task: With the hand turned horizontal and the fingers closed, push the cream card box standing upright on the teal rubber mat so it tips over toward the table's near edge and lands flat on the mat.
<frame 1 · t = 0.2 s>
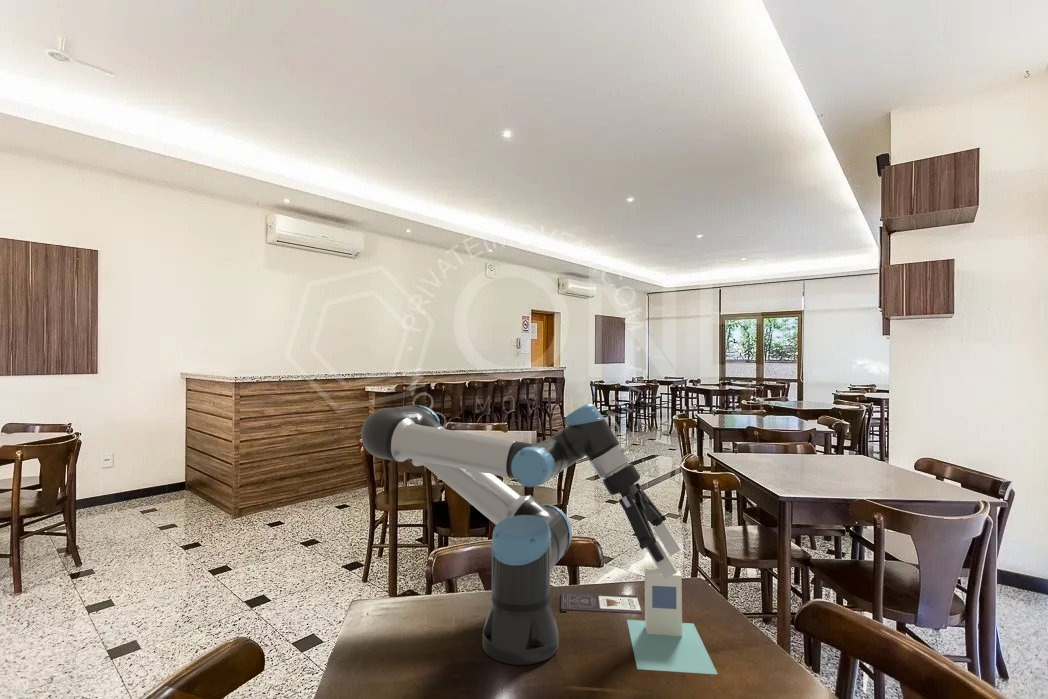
hand: (673, 563, 100), 15 cm above the table, tool tilted 35°, fingers open, 13 cm apart
chocolate bar: (599, 607, 114), on the table
mat: (667, 646, 97), on the table
card box: (663, 631, 102), resting on mat
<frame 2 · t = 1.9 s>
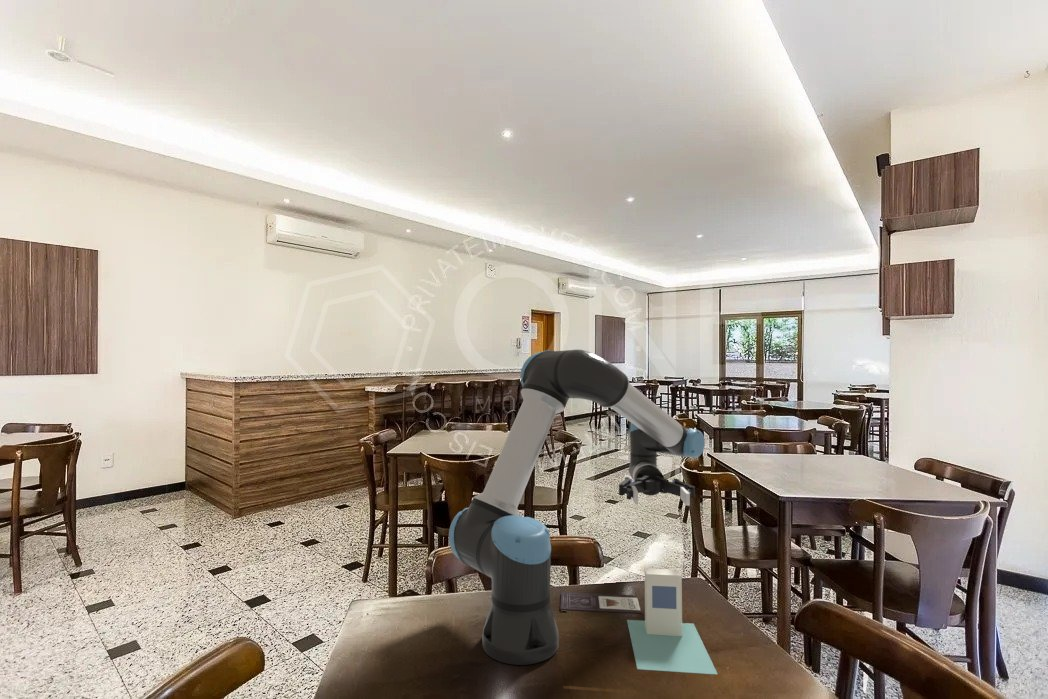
hand: (662, 498, 112), 25 cm above the table, tool horizontal, fingers open, 11 cm apart
nothing on the table moved.
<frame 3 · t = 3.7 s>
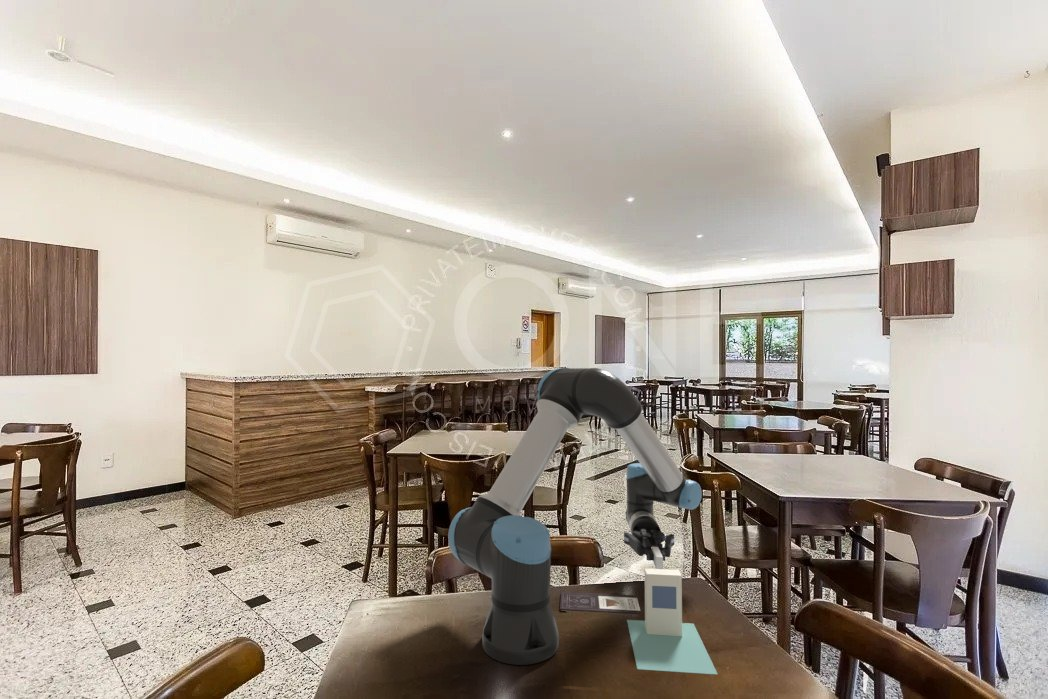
hand: (659, 563, 110), 11 cm above the table, tool horizontal, fingers closed
nothing on the table moved.
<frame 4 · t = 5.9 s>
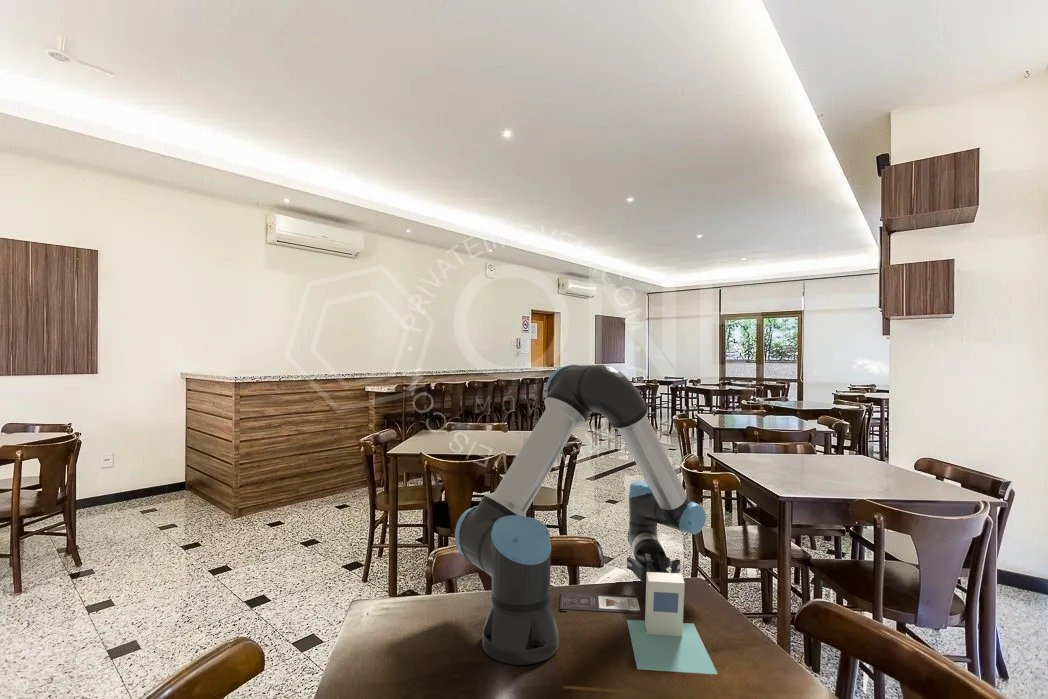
hand: (666, 593, 103), 8 cm above the table, tool horizontal, fingers closed
card box: (663, 629, 102), point 1 cm above the table, tilted 14°, touching mat
everything else where it was.
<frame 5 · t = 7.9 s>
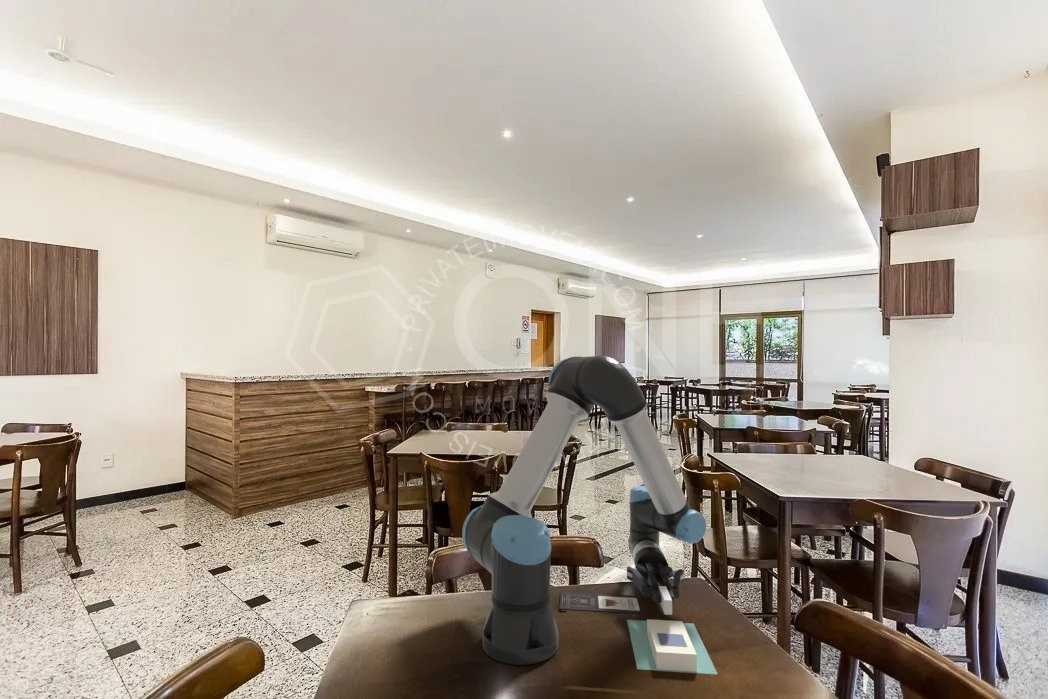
hand: (668, 607, 96), 8 cm above the table, tool horizontal, fingers closed
card box: (664, 627, 100), point 2 cm above the table, tilted 90°, touching mat
everything else where it was.
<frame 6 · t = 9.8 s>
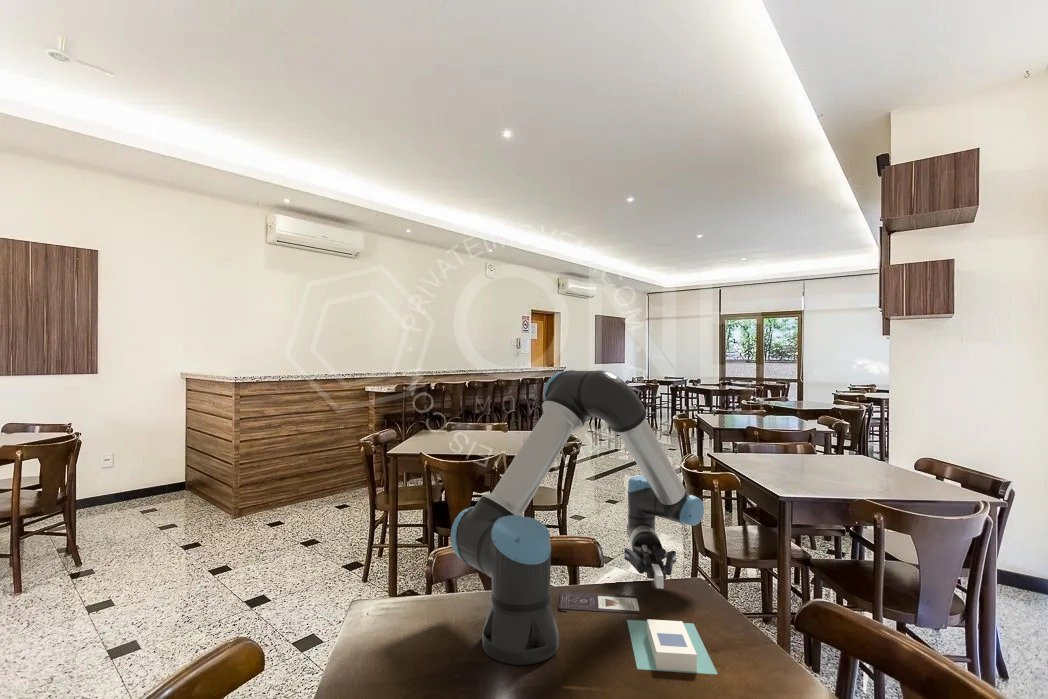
hand: (660, 582, 107), 8 cm above the table, tool horizontal, fingers closed
nothing on the table moved.
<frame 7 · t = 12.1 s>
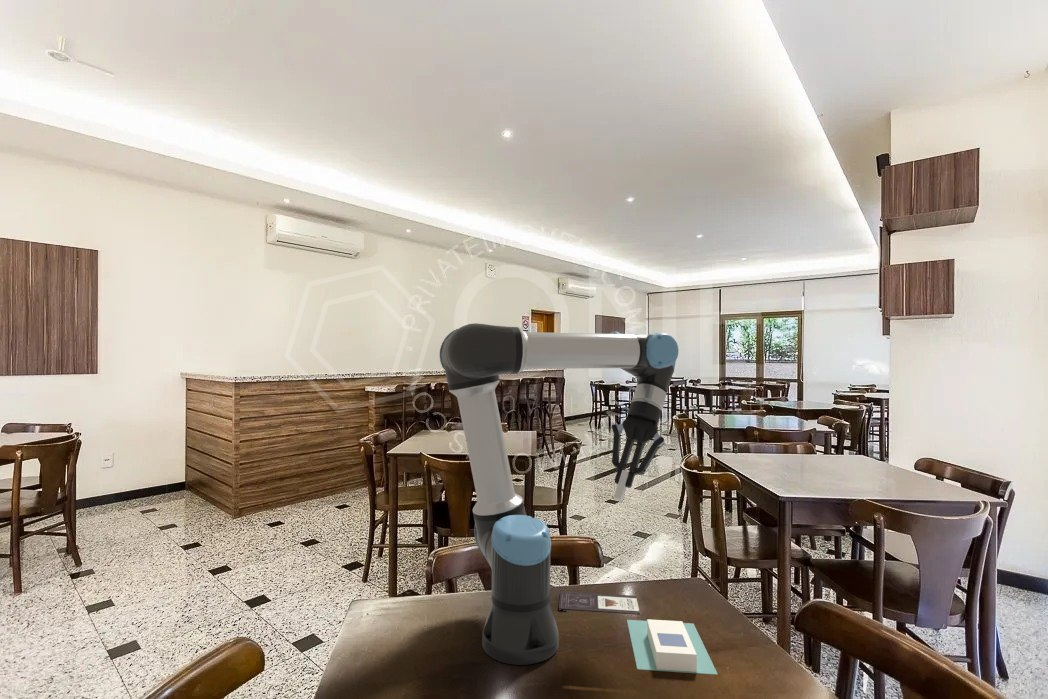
hand: (618, 499, 112), 25 cm above the table, tool tilted 30°, fingers closed
nothing on the table moved.
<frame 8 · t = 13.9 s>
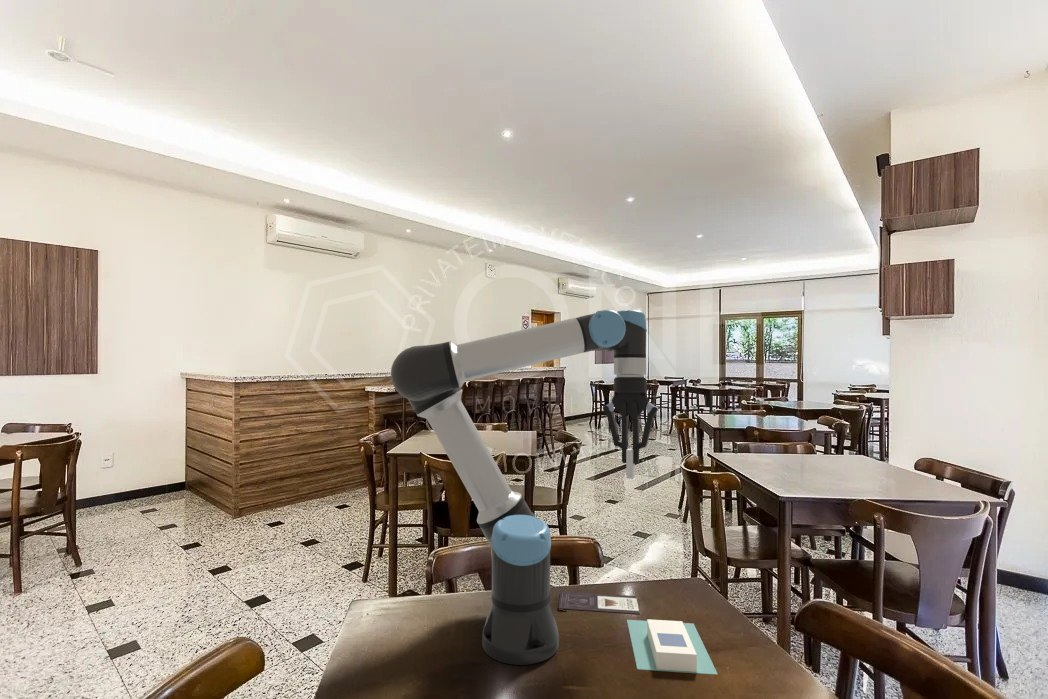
hand: (630, 477, 115), 29 cm above the table, tool pointing down, fingers closed
nothing on the table moved.
at the end: card box tilted 90°; card box 3.3 cm from the mat (horizontally); card box touching mat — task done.
